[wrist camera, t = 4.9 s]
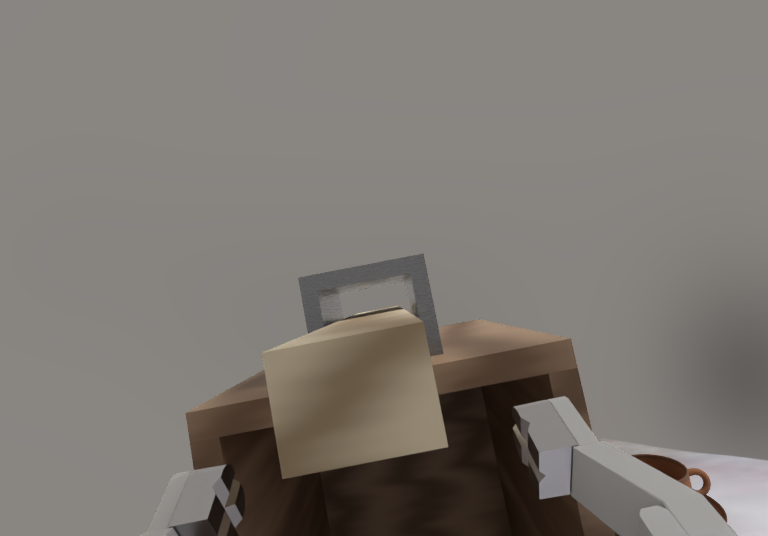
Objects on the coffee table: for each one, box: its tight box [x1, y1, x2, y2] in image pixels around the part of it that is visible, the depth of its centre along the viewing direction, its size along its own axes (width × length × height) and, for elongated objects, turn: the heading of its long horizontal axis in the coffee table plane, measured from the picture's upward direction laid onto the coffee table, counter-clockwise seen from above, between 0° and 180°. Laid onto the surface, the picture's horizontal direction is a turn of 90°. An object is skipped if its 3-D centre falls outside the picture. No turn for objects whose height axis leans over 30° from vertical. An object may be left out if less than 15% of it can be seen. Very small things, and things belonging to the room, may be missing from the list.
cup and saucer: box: [631, 454, 727, 523], centre depth 44 cm, size 12×12×6 cm
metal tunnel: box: [298, 254, 444, 356], centre depth 29 cm, size 8×10×6 cm
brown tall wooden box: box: [186, 319, 616, 536], centre depth 30 cm, size 20×21×26 cm
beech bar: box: [262, 306, 448, 479], centre depth 24 cm, size 4×28×3 cm, turn 179°
